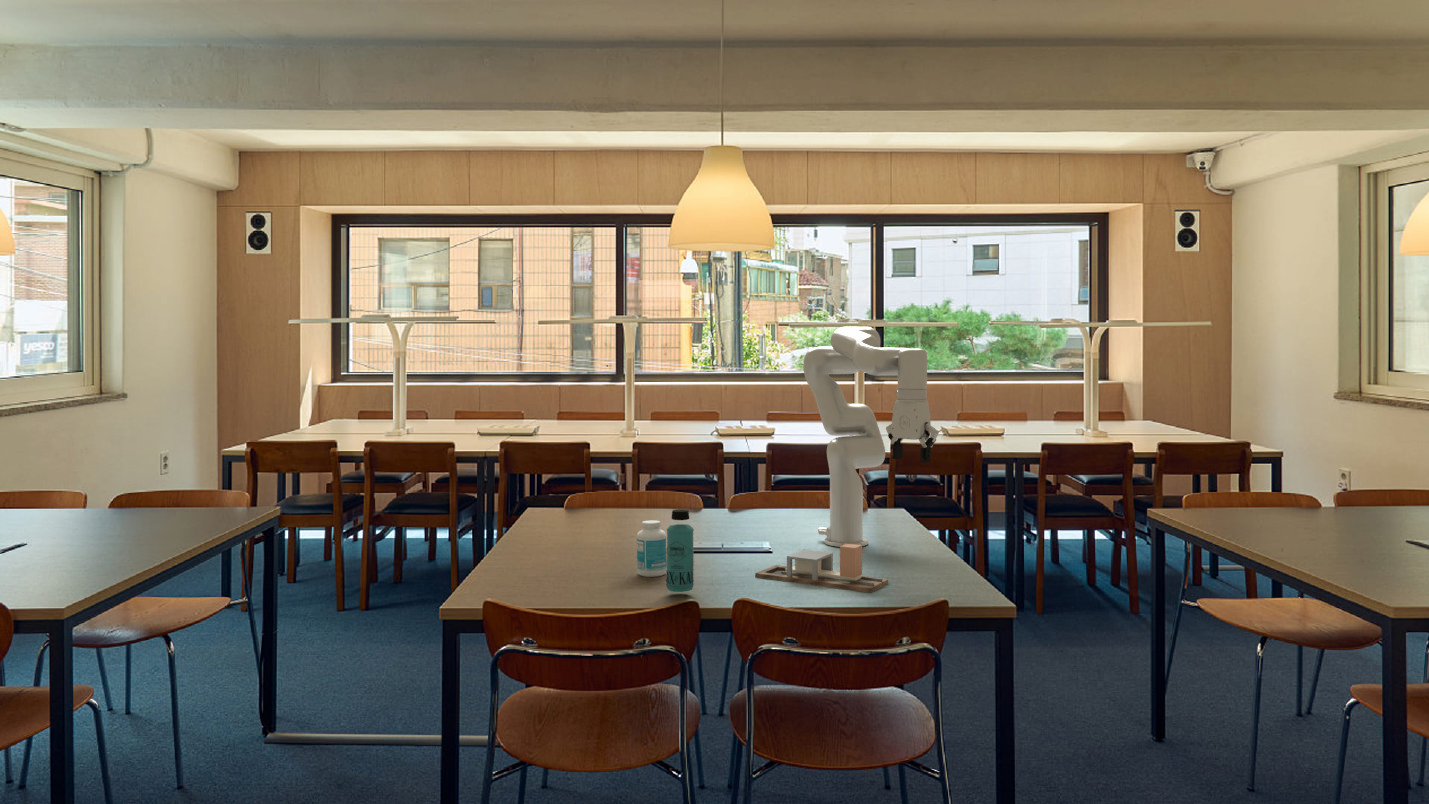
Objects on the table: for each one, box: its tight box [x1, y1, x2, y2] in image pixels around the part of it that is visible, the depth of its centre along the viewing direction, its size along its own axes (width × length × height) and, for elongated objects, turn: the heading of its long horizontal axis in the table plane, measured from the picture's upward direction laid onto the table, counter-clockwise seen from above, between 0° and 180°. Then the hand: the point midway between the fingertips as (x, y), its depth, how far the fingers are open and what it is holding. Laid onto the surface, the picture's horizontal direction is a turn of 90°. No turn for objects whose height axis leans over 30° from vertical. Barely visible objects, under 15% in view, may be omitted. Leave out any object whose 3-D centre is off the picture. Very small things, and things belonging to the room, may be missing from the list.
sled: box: [785, 544, 863, 580], centre depth 242 cm, size 19×5×8 cm, turn 58°
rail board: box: [754, 564, 889, 594], centre depth 243 cm, size 31×11×2 cm, turn 58°
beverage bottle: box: [665, 508, 695, 593], centre depth 227 cm, size 6×7×20 cm
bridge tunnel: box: [786, 549, 834, 580], centre depth 244 cm, size 8×10×5 cm
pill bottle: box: [636, 519, 667, 578], centre depth 249 cm, size 8×7×14 cm
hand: (911, 460), depth 258 cm, fingers open, 9 cm apart
